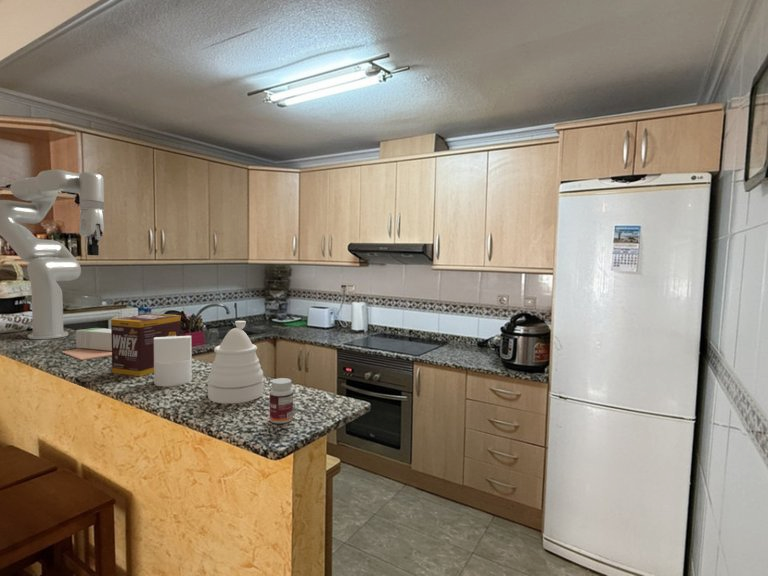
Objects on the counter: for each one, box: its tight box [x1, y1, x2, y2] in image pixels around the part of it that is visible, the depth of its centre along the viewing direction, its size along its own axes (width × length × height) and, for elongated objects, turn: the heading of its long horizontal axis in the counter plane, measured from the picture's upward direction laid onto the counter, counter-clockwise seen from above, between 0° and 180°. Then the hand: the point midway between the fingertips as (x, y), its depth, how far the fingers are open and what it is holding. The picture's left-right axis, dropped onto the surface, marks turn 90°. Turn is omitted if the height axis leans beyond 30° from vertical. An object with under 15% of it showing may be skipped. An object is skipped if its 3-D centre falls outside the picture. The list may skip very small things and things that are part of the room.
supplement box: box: [110, 312, 182, 377], centre depth 123 cm, size 10×15×16 cm
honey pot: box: [207, 320, 264, 404], centre depth 102 cm, size 13×13×18 cm
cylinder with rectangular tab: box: [153, 335, 193, 387], centre depth 111 cm, size 9×9×12 cm
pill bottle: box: [269, 377, 294, 424], centre depth 87 cm, size 5×5×8 cm
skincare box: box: [75, 327, 112, 351], centre depth 146 cm, size 8×7×16 cm
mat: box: [60, 348, 112, 361], centre depth 141 cm, size 17×13×1 cm
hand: (93, 255), depth 157 cm, fingers closed
